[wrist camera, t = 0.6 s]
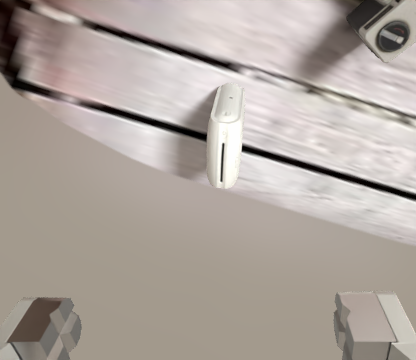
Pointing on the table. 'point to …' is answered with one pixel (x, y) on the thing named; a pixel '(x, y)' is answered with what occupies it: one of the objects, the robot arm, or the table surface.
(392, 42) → the camera
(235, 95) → the photo printer
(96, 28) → the table surface
